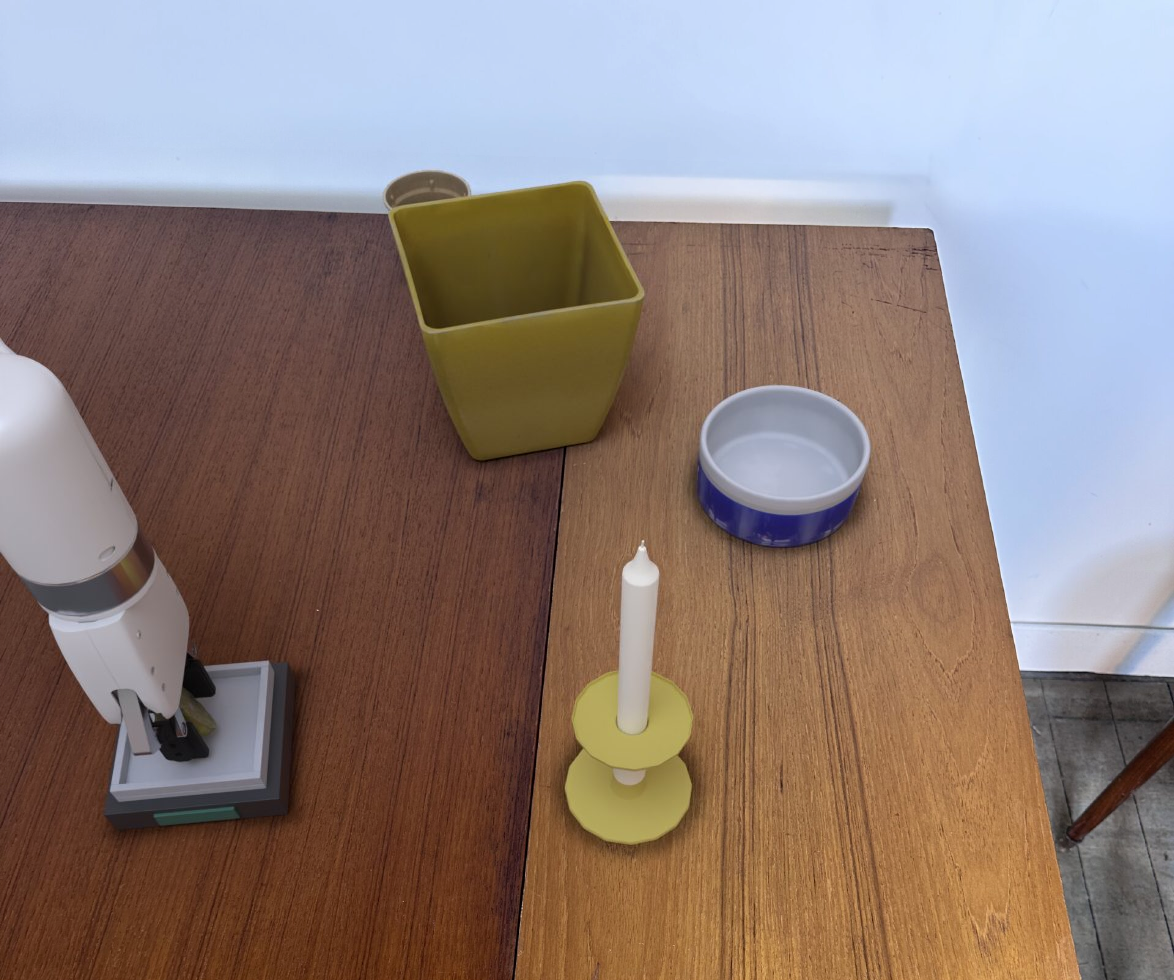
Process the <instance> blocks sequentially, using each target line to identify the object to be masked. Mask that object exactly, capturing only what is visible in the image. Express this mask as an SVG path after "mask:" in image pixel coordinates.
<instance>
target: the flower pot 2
mask: <svg viewBox="0 0 1174 980" xmlns="http://www.w3.org/2000/svg"><path fill="white" fill-rule="evenodd" d="M387 217H388V221H389V225H390V228H391V232H392V236H393V240H394V243H395V246H396V249H397V253H398V256H399V260H400V263H401V266H402V267H401V268H402V271H403V273H404V277H405V280H406V285H407V287H408V291H409V294H410V298H411V301H412V304H413V307H414V311H415V315H416V318H417V321H418V325H419V330H420V332H421V336H422V339H423V344H424V347H425V350H426V353H427V356H428V360H429V363H430V366H431V369H432V373H433V375H434V378H435V382H436V384H437V388H438V390H439V393H440V395H441V398H442V400H443V403H444V406H445V409H446V410H447V413H448V416H449V417H450V419H451V421H452V424H453V425H454V428H455V430H456V432H457V434H458V436H459V438H460V439H461V442H462V443H463V445H464V447H465V449H466V451H467V452H468V454H469V456H470V457H471V458H472V459H473V460H477V461H487V460H493V459H498V458H504V457H509V456H516V455H520V454H527V453H533V452H538V451H539V452H540V451H543V450H544V451H545V450H549V449H556V448H561V447H567V446H573V445H578V444H583V443H589V442H592V441H594V440H595V439H596V438H597V436H598V434H599V432H600V430H601V429H602V427H603V425H604V423H605V420H606V419H607V416H608V414H609V412H610V410H611V407H612V406H613V404H614V401H615V399H616V396H617V394H618V391H619V388H620V386H621V383H622V382H623V378H624V375H625V372H626V369H627V366H628V363H629V360H630V357H631V354H632V350H633V347H634V343H635V340H636V335H637V332H638V327H639V323H640V319H641V315H642V309H643V304H644V299H645V290H644V287H643V286H642V284H641V282H640V280H639V278H638V276H637V274H636V272H635V270H634V268H633V266H632V263H631V261H630V260H629V257H628V256H627V254H626V252H625V249H624V247H623V245H622V244H621V242H620V239H619V237H618V236H617V234H616V231H615V229H614V228H613V225H612V224H611V221H610V218H609V217H608V215H607V213H606V211H605V209H604V207H603V205H602V203H601V200H600V199H599V197H598V194H597V192H596V191H595V188H594V186H593V184H591V183H590V182H588V181H585V180H573V181H567V182H560V183H554V184H545V185H539V186H531V187H525V188H524V187H523V188H517V189H509V190H502V191H495V192H488V193H482V194H481V193H480V194H474V195H471V196H465V197H458V198H451V199H444V200H437V201H430V202H423V203H416V204H409V205H402V206H398V207H395V208H393V209H391V210H390V211H389V210H388V212H387Z"/></svg>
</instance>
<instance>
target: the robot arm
mask: <svg viewBox="0 0 1174 980" xmlns="http://www.w3.org/2000/svg"><path fill="white" fill-rule="evenodd" d="M66 389H67V388H66V387H64V384H63V383H62V381H61V380H60V379H59V377H57V376H56V374H54V373H53V372H52V371H51V370H50V369H49V368H47V367H46V366H44V364H41V363H40V362H38V361H36V360H34V359H32V358H29V357H27V356H24V355H19V354H17V353H16V352H15V351H13V349H11V348H10V347H9V346H7V345H6V344H5V342H4V341H3V339H2V338H1V337H0V554H1V555H2V556H3V558H4V559H5V561H6V562H7V563H8V564H9V566H10V567H11V569H12V570H13V572H15V574H16V575H17V577H18V579H20V581H21V582H22V583H23V584H24V586H25V588H26V589H27V590H28V591H29V593H30V594H31V595H32V597H33V598H34V600H35V601H36V602H37V603H38V604H39V606H40V607H41V608H42V610H44V611H45V612H46V613H47V614H48V624H49V628H50V629H51V632H52V635H53V637H54V639H55V642H56V645H57V646H58V648H59V650H60V651H61V652H60V653H61V654H62V656H63V658H64V659H65V662H66V663H67V665H68V667H69V669H70V670H71V672H72V674H73V675H74V677H75V679H76V680H77V682H78V684H79V685H80V686H81V688H82V690H83V692H84V693H85V694H86V696H87V697H88V699H89V700H90V702H91V704H93V706H94V707H95V709H96V711H97V712H98V714H100V716H101V717H102V718H103V720H105V721H106V722H107V723H109V724H110V725H119V724H122V719H123V718H124V722H125V726H126V730H127V734H128V738H129V741H130V745H131V749H132V753H133V755H134V756H141V755H152V754H155V753H156V752H157V751H158V750H160V752H161V753H162V755H163V756H164V757H165V759H167V760H169V761H176V762H185V761H190V760H192V759H197V758H207V757H208V756H209V748H208V747H207V745H206V743H205V742H204V740H203V739H202V737H201V736H200V734H199V732H198V731H197V729H196V728H195V726H194V725H193V723H192V722H185V720H184V717H183V715H182V712H181V710H180V708H179V702H180V696H181V690H182V686H183V687H184V688H186V690H188V691H189V692H190V693H191V694H192V695H193V696H194V698H206V697H213V696H214V695H215V693H216V687H215V685H214V683H213V682H212V680H211V678H210V676H209V675H208V673H207V671H206V669H205V668H204V666H205V665H204V664H203V662H202V660H201V659H200V658H199V659H197V657H198V649H197V646H196V643H195V642H194V641H193V640H192V639H191V638H190V637H189V635H190V616H189V611H188V608H187V605H186V603H185V600H184V599H183V596H182V594H181V593H180V591H179V589H178V588H177V585H176V583H175V582H174V580H173V578H172V577H171V575H170V573H169V572H168V571H167V569H166V567H165V565H164V563H162V561H161V560H160V558H159V556H158V555H157V553H156V550H155V549H154V547H153V545H152V543H151V542H150V539H149V537H148V536H147V533H146V532H145V530H144V528H143V527H142V525H141V523H140V521H139V520H138V518H137V516H136V514H135V513H134V511H133V508H132V506H131V505H130V502H129V501H128V499H127V497H126V496H125V494H124V492H123V490H122V488H121V487H120V485H119V483H118V482H117V479H116V478H115V475H114V473H113V472H112V470H111V468H110V467H109V464H108V463H107V461H106V459H105V457H104V456H103V453H102V452H101V450H100V449H99V446H98V444H97V443H96V441H95V439H94V437H93V436H92V433H91V431H89V428H88V426H87V425H86V423H85V421H84V419H83V418H82V416H81V414H80V412H79V410H78V408H77V406H76V405H75V403H74V401H73V399H72V397H71V396H70V394H69V393H68V391H67V390H66ZM150 713H162V716H164V717H165V718H166V719H169V720H162V721H155V722H153V721H152V718H151V716H150Z"/></svg>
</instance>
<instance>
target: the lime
mask: <svg viewBox="0 0 1174 980" xmlns="http://www.w3.org/2000/svg"><path fill="white" fill-rule="evenodd" d="M179 708H180V710H181V712H182V715H183V717H184V720H185V722H192V723H193V725H194V726H195V728H196V729H197V731H198V732H199V734H200V736H201V737H204V736H206V735H208V734H210V733H211V732H213V731H214V730H215V729H216V728H217V724H216V722H215V720H214V719H213V718H212V717H211V715H210V714H209V713H208V711H206V709H205V707H204V706H203V705H202V704H201V703H200V702H198V700H197V699H195V698H194V696H193V695H192V694H191V693H190V692H189V691H188V690H186V688H184V687H183V686H182V690H181V696H180V702H179ZM153 714H154V716H155V720H154V722H155V721H162V720H169V719H166V718H165V717H164V716H162V713H153Z"/></svg>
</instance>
